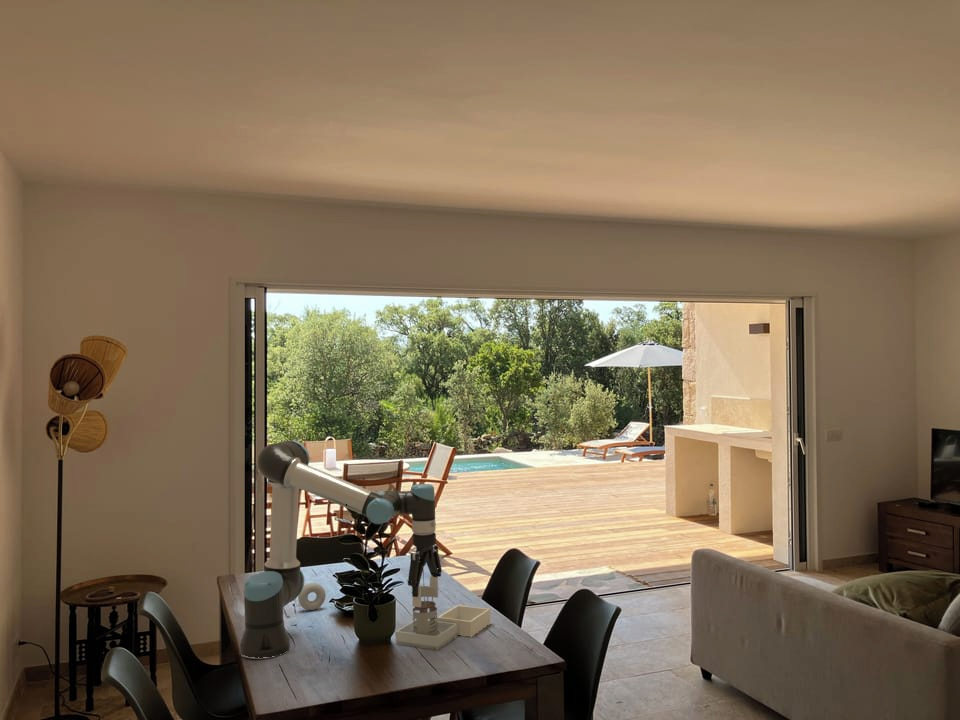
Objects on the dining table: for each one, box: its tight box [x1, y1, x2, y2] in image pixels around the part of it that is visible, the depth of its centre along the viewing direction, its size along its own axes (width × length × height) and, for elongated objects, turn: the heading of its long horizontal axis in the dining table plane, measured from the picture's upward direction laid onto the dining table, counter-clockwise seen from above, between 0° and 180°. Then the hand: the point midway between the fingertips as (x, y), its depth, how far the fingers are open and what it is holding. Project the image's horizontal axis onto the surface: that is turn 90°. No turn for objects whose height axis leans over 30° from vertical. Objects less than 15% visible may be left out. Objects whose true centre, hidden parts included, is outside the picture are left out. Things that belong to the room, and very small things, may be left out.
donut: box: [297, 582, 326, 611], centre depth 281 cm, size 10×3×10 cm, turn 114°
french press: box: [412, 567, 441, 636], centre depth 245 cm, size 10×12×25 cm
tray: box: [394, 619, 458, 651], centre depth 245 cm, size 14×15×4 cm
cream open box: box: [436, 604, 491, 638], centre depth 255 cm, size 15×13×5 cm
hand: (425, 601), depth 245 cm, fingers closed on french press, 10 cm apart
